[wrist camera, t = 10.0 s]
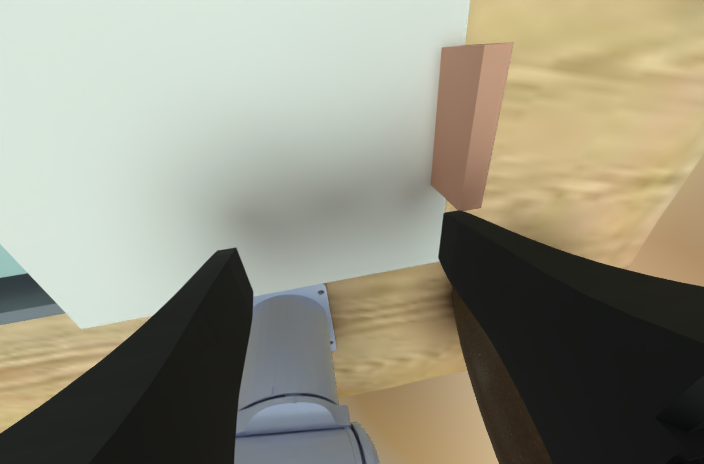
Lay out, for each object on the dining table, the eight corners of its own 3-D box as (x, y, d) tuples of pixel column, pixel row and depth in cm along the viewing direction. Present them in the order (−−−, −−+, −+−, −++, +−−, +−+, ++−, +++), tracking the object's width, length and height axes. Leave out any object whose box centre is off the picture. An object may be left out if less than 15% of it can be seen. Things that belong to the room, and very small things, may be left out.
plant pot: (418, 239, 24) (582, 476, 10) (575, 208, 25) (896, 380, 12) (414, 346, 32) (503, 553, 19) (533, 317, 33) (694, 491, 20)
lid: (433, 254, 18) (463, 295, 15) (89, 317, 16) (40, 382, 13) (475, -153, 9) (574, -263, 6) (-322, -144, 7) (-858, -317, 4)
